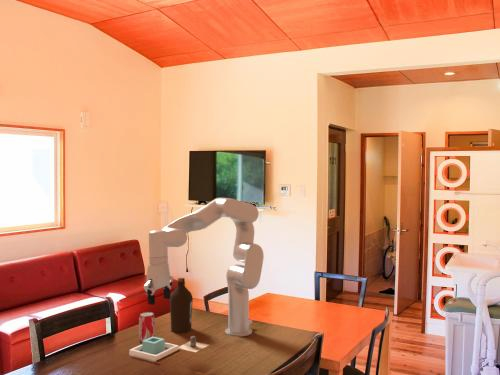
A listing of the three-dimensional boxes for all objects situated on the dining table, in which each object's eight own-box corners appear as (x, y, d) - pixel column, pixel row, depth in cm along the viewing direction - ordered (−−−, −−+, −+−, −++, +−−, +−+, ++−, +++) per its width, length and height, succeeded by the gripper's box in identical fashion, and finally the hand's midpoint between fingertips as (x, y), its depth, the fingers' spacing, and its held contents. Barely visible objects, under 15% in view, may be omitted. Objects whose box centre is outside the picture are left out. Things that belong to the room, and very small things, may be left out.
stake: (190, 342, 209) (190, 331, 209) (209, 346, 204) (209, 335, 204) (176, 349, 201) (176, 338, 201) (195, 354, 196) (195, 342, 196)
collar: (164, 351, 198) (164, 338, 198) (154, 356, 192) (154, 343, 192) (149, 347, 202) (149, 335, 202) (139, 352, 196) (139, 340, 196)
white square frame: (152, 345, 206) (152, 339, 206) (178, 351, 199) (178, 345, 199) (129, 355, 194) (129, 349, 194) (156, 362, 187) (156, 356, 187)
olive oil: (170, 335, 218) (170, 281, 218) (169, 328, 229) (169, 276, 228) (193, 334, 221) (193, 280, 220) (191, 327, 231) (191, 275, 231)
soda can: (151, 344, 207) (151, 316, 207) (136, 343, 209) (136, 315, 209) (157, 338, 214) (157, 312, 214) (142, 337, 216) (142, 311, 215)
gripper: (165, 256, 207) (165, 295, 207) (136, 263, 192) (137, 305, 192) (178, 257, 203) (179, 297, 204) (151, 264, 188) (152, 308, 189)
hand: (159, 301), depth 198 cm, fingers open, 9 cm apart
